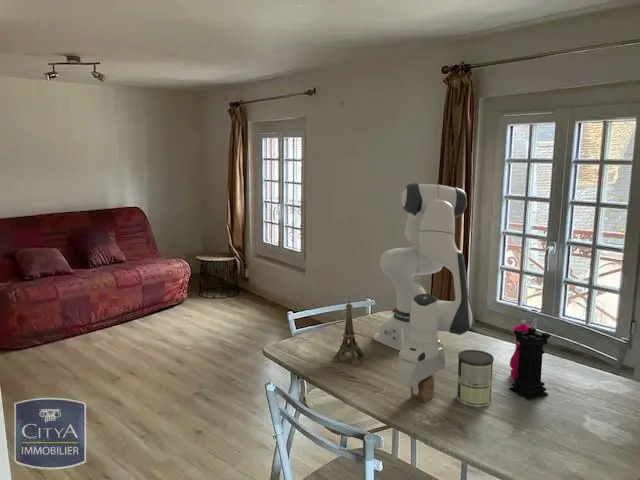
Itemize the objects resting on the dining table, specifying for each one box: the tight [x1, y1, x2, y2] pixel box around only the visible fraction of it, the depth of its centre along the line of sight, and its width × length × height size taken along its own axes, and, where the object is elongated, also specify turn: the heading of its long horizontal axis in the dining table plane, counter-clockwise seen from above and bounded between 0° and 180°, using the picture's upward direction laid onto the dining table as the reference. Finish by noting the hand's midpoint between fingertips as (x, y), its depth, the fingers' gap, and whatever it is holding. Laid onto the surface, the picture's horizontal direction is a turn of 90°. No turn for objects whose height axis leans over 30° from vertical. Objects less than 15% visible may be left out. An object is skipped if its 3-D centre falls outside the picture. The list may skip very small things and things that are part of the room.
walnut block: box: [410, 377, 435, 403], centre depth 161 cm, size 5×5×6 cm
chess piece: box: [508, 326, 551, 402], centre depth 163 cm, size 8×8×20 cm
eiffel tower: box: [330, 301, 368, 367], centre depth 190 cm, size 11×11×25 cm
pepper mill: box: [509, 319, 531, 380], centre depth 175 cm, size 7×7×20 cm
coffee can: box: [456, 349, 495, 408], centre depth 159 cm, size 10×10×14 cm
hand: (422, 390), depth 161 cm, fingers closed on walnut block, 5 cm apart
